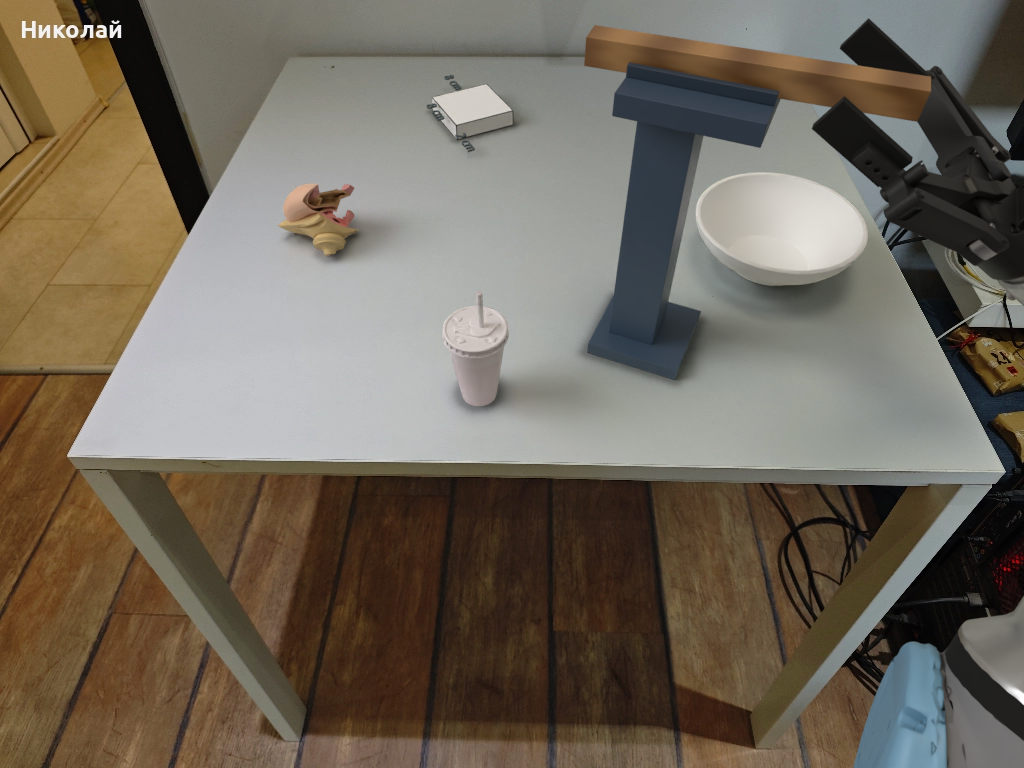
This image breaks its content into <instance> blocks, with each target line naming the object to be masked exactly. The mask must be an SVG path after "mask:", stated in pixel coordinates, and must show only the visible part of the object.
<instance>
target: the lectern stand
mask: <svg viewBox="0 0 1024 768" xmlns="http://www.w3.org/2000/svg"><path fill="white" fill-rule="evenodd" d="M778 94H779V91H776V90H771V89H766V88H760V87H755V86H750V85H745V84H740V83H734V82H729V81H724V80H719V79H714V78H709V77H703V76H698V75H693V74H688V73H683V72H677V71H672V70H667V69H662V68H657V67H652V66H646V65H641V64H636V63H631V62H629V64H628V65H627V71H626V73H625V77H624V79H623V80H622V81H621V83H620V85H619V86H618V87H617V89H616V90H615V91H614V96H613V104H612V113H611V116H612V117H614V118H620V119H624V120H627V121H628V120H629V121H634V122H636V126H635V135H634V142H633V148H632V157H631V164H630V171H629V177H628V184H627V185H628V187H627V193H626V201H625V208H624V216H623V222H622V223H623V224H622V229H621V230H622V231H621V238H620V246H619V252H618V260H617V269H616V276H615V283H614V288H613V289H614V290H613V295H612V297H611V299H610V301H609V303H608V304H607V306H606V308H605V310H604V312H603V315H602V316H601V318H600V320H599V321H598V324H597V326H596V327H595V329H594V331H593V333H592V335H591V337H590V338H589V341H588V342H587V349H586V353H587V354H591V355H594V356H597V357H600V358H604V359H607V360H610V361H613V362H616V363H619V364H622V365H626V366H629V367H632V368H635V369H639V370H641V371H644V372H648V373H651V374H654V375H658V376H661V377H664V378H667V379H670V380H674V381H675V380H676V379H677V376H678V373H679V371H680V369H681V366H682V364H683V361H684V359H685V356H686V354H687V351H688V348H689V346H690V344H691V341H692V338H693V337H694V334H695V330H696V328H697V326H698V323H699V321H700V318H701V313H702V310H699V309H695V308H692V307H688V306H685V305H681V304H677V303H674V302H671V301H669V300H670V295H671V290H672V285H673V280H674V276H675V272H676V268H677V263H678V259H679V258H678V257H679V254H680V249H681V245H682V244H681V243H682V238H683V234H684V229H685V225H686V220H687V215H688V211H689V206H690V202H691V197H692V193H693V188H694V181H695V178H696V173H697V168H698V164H699V159H700V155H701V154H700V153H701V149H702V146H703V141H704V137H707V138H712V139H717V140H722V141H725V142H730V143H736V144H741V145H745V146H750V147H753V148H758V149H761V148H762V146H763V143H764V141H765V138H766V136H767V134H768V131H769V128H770V126H771V124H772V120H773V118H774V116H775V114H776V111H777V109H778V107H779V104H780V102H781V99H778Z"/></svg>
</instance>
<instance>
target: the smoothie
mask: <svg viewBox="0 0 1024 768" xmlns="http://www.w3.org/2000/svg"><path fill="white" fill-rule="evenodd" d="M475 298H476V305H469V306H464V307H462V308H459V309H457V310H454V311H453V312H451V314H449V315H448V316H447V317H446V319H445V320H444V322H443V325H442V338H441V339H442V341H443V344H444V346H445V347H446V348H447V350H448V351H449V356H450V357H451V362H452V365H453V368H454V372H455V375H456V379H457V382H458V386H459V389H460V392H461V396H462V399H463V400H464V401H465V402H466V404H468V405H470V406H472V407H485V406H489V405H490V404H492V403H493V402H494V401H495V400H496V398H497V396H498V390H499V389H498V388H499V382H500V375H501V370H502V369H501V368H502V362H503V358H504V357H503V356H504V350H505V346H506V344H507V343H508V340H509V336H510V331H509V324H508V320H507V319H506V317H505V316H504V315H503V314H502V313H501V312H500V311H498V310H497V309H494V308H493V307H489V306H485V305H484V302H483V299H484V298H483V291H481V290H477V291H476V292H475Z"/></svg>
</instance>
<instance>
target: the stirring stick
mask: <svg viewBox="0 0 1024 768" xmlns="http://www.w3.org/2000/svg"><path fill="white" fill-rule="evenodd" d="M584 47H585V48H584V62H583V66H584V67H588V68H593V69H594V68H595V69H601V70H607V71H611V72H618V73H624V74H626V71H627V65H628V64H629V62H631V63H636V64H641V65H646V66H652V67H657V68H662V69H667V70H672V71H677V72H683V73H688V74H693V75H698V76H703V77H709V78H714V79H719V80H724V81H729V82H734V83H740V84H745V85H750V86H755V87H760V88H766V89H771V90H776V91H779V94H778V99H780V100H785V101H789V102H790V101H791V102H797V103H804V104H810V105H814V106H821V107H827V108H832V107H833V106H834V105H835V104H836V103H837V102H838V101H840V100H841V99H842V98H843V97H844V96H845V97H846V98H847V99H848V100H849V101H851V102H852V103H853V104H854V105H855V106H856V107H857V108H858V109H860V110H861V111H862V112H863V113H864V114H868V115H875V116H880V117H886V118H892V119H897V120H904V121H911V122H916V123H918V122H917V121H918V119H919V117H920V115H921V113H922V111H923V108H924V106H925V104H926V102H927V100H928V97H929V95H930V93H931V77H930V76H923V75H917V74H910V73H904V72H897V71H891V70H884V69H878V68H871V67H865V66H858V65H857V64H852V63H845V62H838V61H832V60H825V59H818V58H812V57H805V56H801V55H800V56H799V55H794V54H793V55H792V54H786V53H779V52H773V51H766V50H760V49H754V48H746V47H741V46H733V45H727V44H720V43H715V42H707V41H702V40H694V39H688V38H682V37H675V36H668V35H662V34H656V33H648V32H642V31H637V30H636V31H635V30H630V29H622V28H616V27H610V26H603V25H598V24H597V25H596V24H593V27H592V28H591V29H590V31H589V32H588V34H587V35H586V36H585V46H584Z"/></svg>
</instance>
